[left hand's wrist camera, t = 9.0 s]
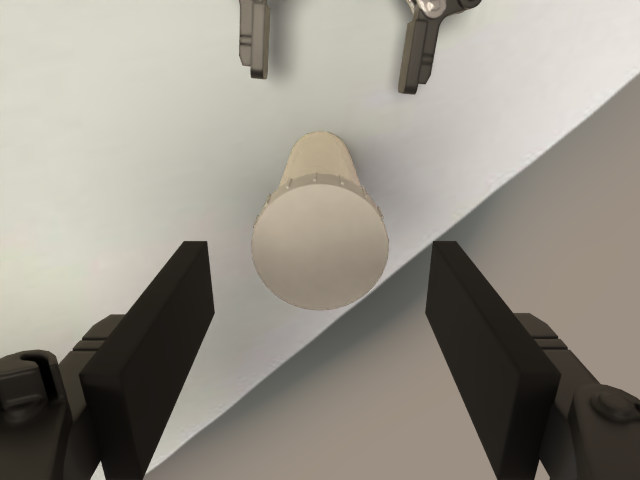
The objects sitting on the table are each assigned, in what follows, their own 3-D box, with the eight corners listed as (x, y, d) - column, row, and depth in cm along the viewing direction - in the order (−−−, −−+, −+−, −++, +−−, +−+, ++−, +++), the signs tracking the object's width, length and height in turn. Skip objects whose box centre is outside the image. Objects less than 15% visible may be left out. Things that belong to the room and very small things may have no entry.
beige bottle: (307, 119, 31) (296, 167, 16) (362, 151, 32) (401, 225, 17) (278, 174, 32) (241, 266, 17) (331, 202, 33) (340, 315, 18)
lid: (294, 147, 17) (291, 156, 15) (407, 211, 18) (416, 226, 16) (235, 256, 18) (227, 274, 17) (342, 309, 19) (344, 331, 18)
